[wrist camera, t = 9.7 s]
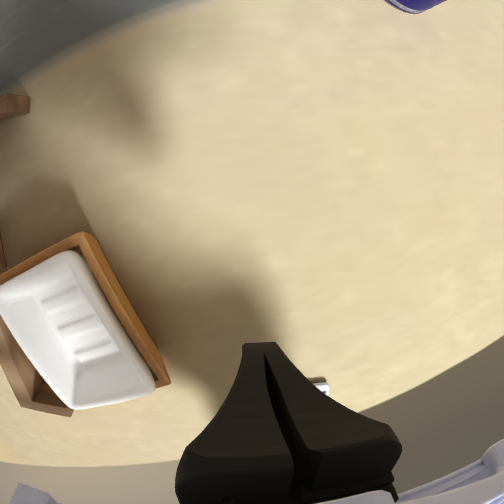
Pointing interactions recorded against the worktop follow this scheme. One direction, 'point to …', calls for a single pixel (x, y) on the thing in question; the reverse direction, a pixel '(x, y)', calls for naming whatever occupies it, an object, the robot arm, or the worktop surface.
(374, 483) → the robot arm
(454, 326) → the worktop surface
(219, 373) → the worktop surface
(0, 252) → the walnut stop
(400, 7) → the energy drink
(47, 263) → the soap dish
